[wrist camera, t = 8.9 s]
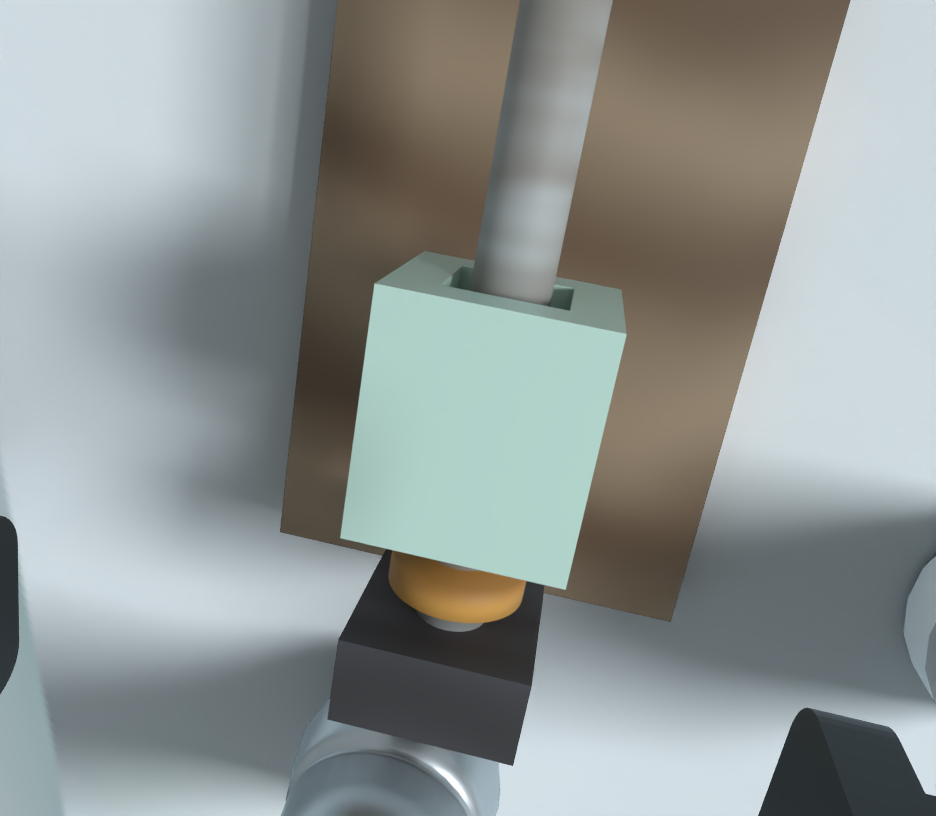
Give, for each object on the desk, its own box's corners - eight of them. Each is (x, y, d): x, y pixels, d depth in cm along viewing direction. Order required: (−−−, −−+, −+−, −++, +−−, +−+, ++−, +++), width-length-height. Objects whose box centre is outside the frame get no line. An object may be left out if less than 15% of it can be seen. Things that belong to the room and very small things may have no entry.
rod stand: (391, -312, 20) (221, -669, 11) (904, -242, 19) (1170, -574, 10) (296, 511, 27) (147, 694, 18) (666, 595, 26) (700, 833, 17)
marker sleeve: (424, 251, 19) (374, 283, 15) (621, 289, 18) (626, 333, 14) (393, 456, 20) (340, 538, 16) (573, 496, 20) (566, 589, 16)
